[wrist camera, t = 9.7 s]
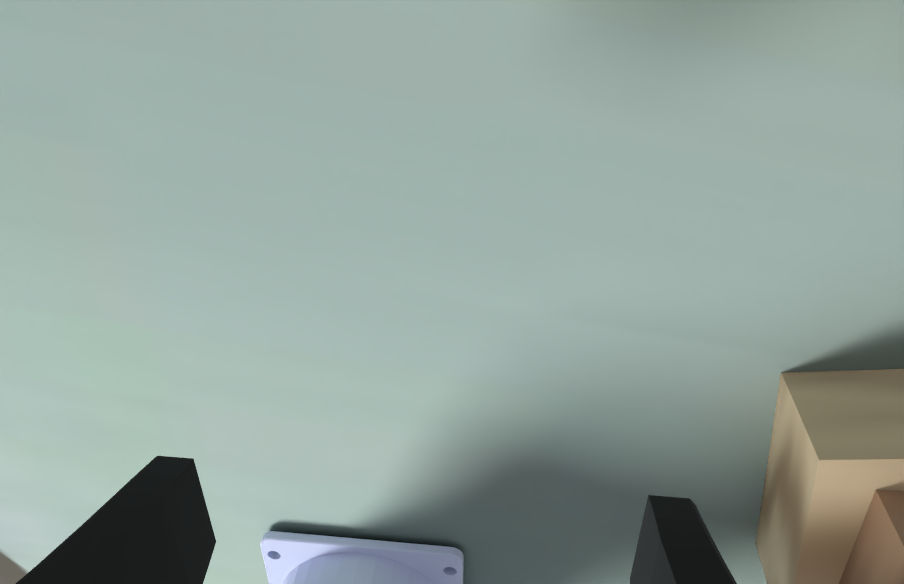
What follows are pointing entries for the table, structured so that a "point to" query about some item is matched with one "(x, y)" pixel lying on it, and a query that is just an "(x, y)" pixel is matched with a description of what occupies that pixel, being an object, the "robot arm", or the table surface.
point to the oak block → (827, 469)
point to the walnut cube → (879, 543)
